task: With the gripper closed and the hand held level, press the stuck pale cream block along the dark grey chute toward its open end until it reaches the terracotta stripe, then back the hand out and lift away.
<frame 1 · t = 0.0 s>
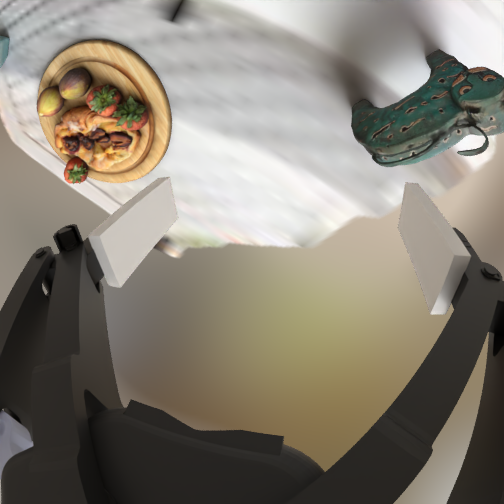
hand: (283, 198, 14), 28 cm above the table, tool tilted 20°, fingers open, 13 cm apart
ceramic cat: (405, 85, 29), on the table
wooden plate with food: (99, 114, 41), on the table
flower pot: (4, 45, 24), on the table
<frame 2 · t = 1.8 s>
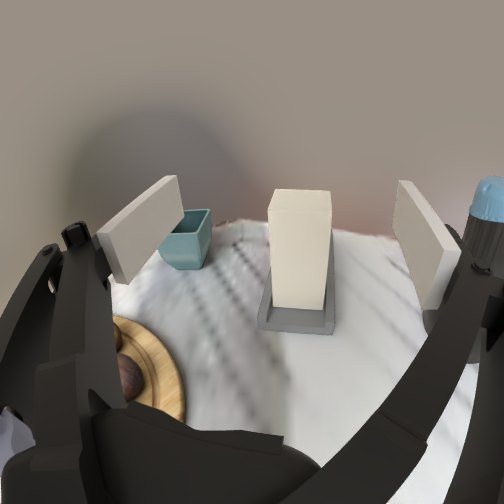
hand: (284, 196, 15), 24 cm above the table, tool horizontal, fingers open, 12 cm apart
cream block: (300, 252, 36), point 9 cm above the table, slide at 0.0 cm
grey chute: (302, 277, 46), on the table
wooden plate with food: (79, 405, 28), on the table
flower pot: (191, 263, 52), on the table
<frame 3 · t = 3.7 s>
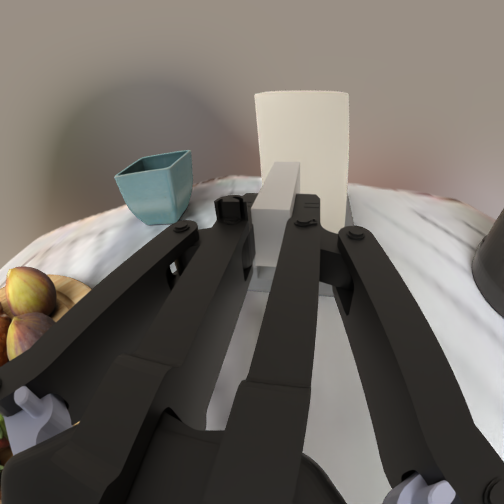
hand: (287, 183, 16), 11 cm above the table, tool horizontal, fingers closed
cream block: (306, 172, 24), point 9 cm above the table, slide at 0.0 cm
grey chute: (308, 227, 34), on the table
wooden plate with food: (4, 388, 16), on the table
flower pot: (166, 218, 41), on the table
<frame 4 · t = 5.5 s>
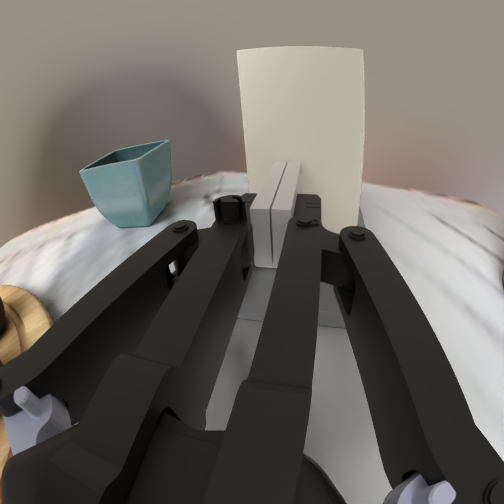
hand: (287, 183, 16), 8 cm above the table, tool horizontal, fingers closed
cream block: (306, 157, 18), point 9 cm above the table, slide at 0.8 cm, touching gripper
grey chute: (308, 232, 28), on the table
flower pot: (141, 220, 34), on the table
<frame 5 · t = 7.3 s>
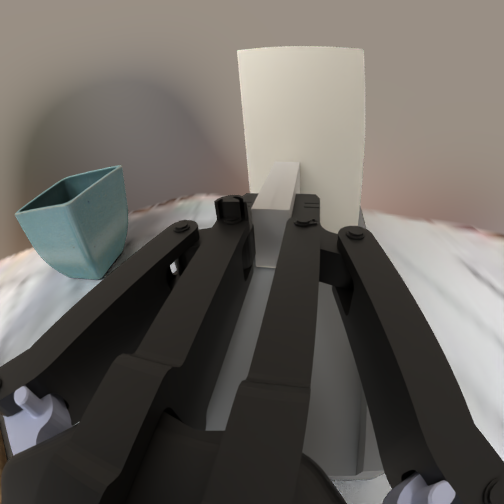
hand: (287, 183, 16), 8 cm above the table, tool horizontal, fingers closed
cream block: (307, 157, 18), point 9 cm above the table, slide at 11.0 cm, touching gripper
grey chute: (300, 305, 19), on the table
flower pot: (95, 266, 26), on the table
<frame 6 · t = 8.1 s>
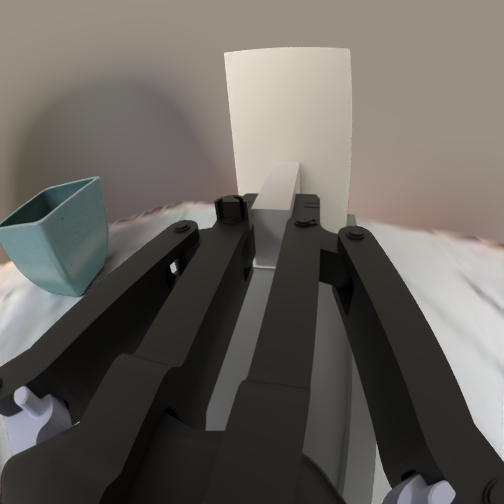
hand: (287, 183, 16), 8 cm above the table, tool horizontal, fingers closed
cream block: (296, 157, 18), point 9 cm above the table, slide at 13.5 cm, touching gripper
grey chute: (284, 331, 18), on the table
flower pot: (77, 281, 24), on the table
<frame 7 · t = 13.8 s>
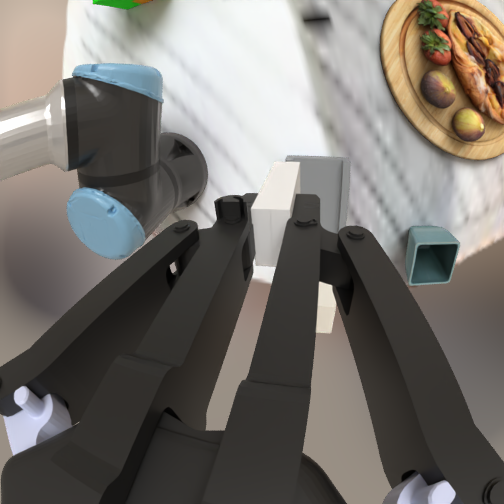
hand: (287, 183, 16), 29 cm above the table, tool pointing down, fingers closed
cream block: (313, 286, 46), point 9 cm above the table, slide at 13.8 cm
grey chute: (316, 220, 49), on the table
wooden plate with food: (463, 70, 27), on the table
flower pot: (420, 236, 46), on the table
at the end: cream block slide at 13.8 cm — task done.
